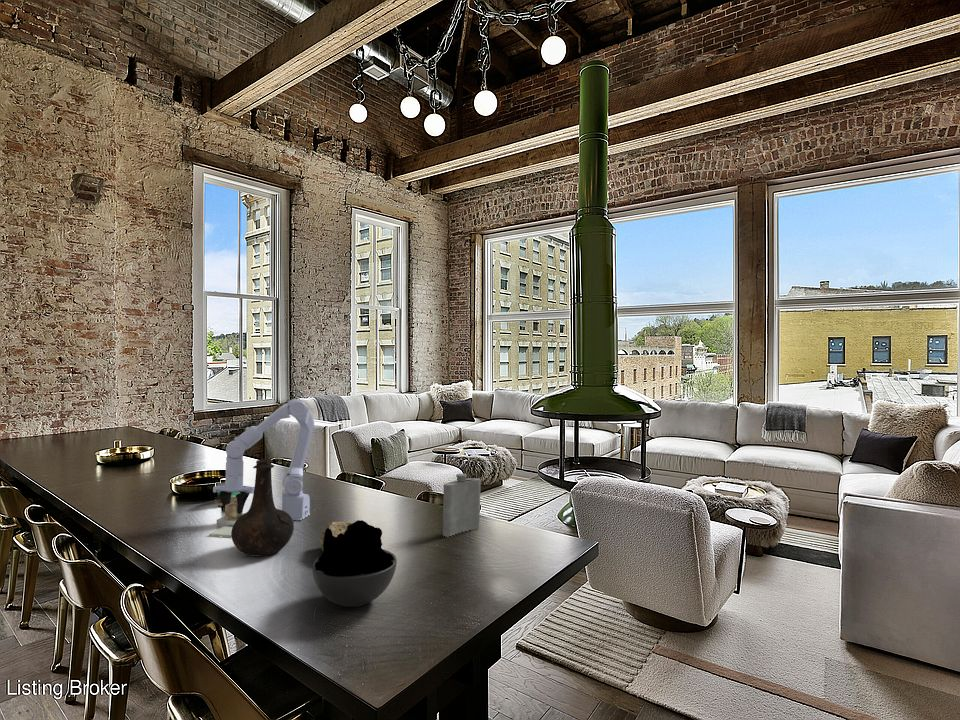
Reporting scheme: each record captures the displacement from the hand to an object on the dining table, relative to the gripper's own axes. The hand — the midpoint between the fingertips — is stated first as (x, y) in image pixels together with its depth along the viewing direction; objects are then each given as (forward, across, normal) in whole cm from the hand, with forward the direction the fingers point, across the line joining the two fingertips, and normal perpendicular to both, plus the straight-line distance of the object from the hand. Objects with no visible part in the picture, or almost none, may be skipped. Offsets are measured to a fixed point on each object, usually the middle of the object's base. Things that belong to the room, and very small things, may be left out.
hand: (233, 512), depth 183 cm
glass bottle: (+4, -23, +24) cm, 34 cm away
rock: (+4, -49, +25) cm, 55 cm away
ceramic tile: (+4, -4, +10) cm, 11 cm away
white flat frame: (+4, -4, 0) cm, 5 cm away
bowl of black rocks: (+4, -61, +55) cm, 82 cm away
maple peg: (+4, 0, 0) cm, 4 cm away
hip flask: (+4, -82, -1) cm, 82 cm away
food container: (+4, +14, -24) cm, 28 cm away
